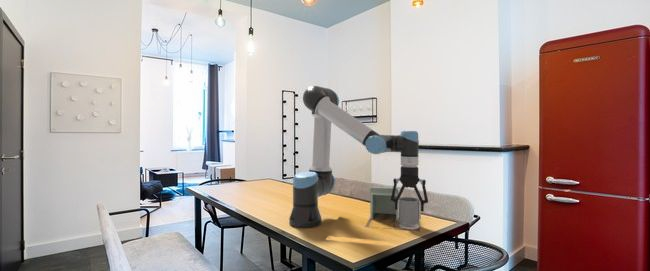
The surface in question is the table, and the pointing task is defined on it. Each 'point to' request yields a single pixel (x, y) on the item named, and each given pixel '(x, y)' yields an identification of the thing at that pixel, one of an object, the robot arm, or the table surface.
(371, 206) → the hood
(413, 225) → the coaster
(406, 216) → the cup
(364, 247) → the table surface
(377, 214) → the board
